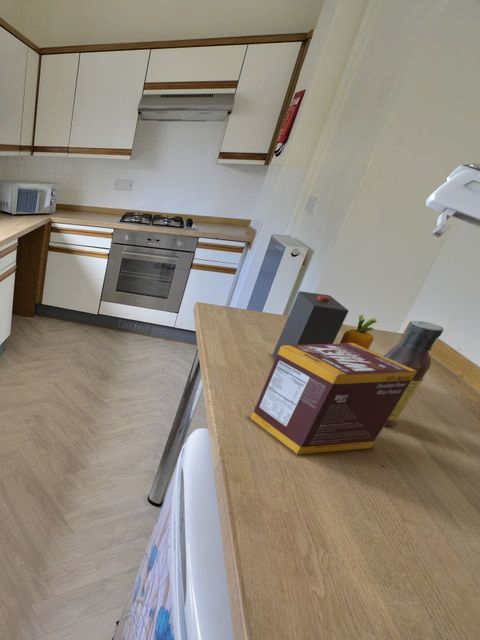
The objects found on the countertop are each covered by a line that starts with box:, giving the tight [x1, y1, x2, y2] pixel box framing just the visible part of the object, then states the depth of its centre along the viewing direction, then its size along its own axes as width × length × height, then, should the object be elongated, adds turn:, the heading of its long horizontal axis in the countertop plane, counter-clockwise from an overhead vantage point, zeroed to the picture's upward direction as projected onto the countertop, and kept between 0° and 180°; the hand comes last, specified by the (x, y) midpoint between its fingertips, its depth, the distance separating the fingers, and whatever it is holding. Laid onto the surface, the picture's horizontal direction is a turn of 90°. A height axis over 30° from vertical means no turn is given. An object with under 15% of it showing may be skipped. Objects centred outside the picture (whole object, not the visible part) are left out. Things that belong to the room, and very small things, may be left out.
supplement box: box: [250, 342, 417, 455], centre depth 71 cm, size 10×15×16 cm
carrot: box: [339, 314, 378, 350], centre depth 91 cm, size 5×5×15 cm
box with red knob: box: [271, 290, 349, 360], centre depth 92 cm, size 18×11×18 cm, turn 67°
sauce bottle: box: [383, 320, 444, 426], centre depth 75 cm, size 7×6×20 cm
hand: (465, 247), depth 76 cm, fingers open, 8 cm apart
